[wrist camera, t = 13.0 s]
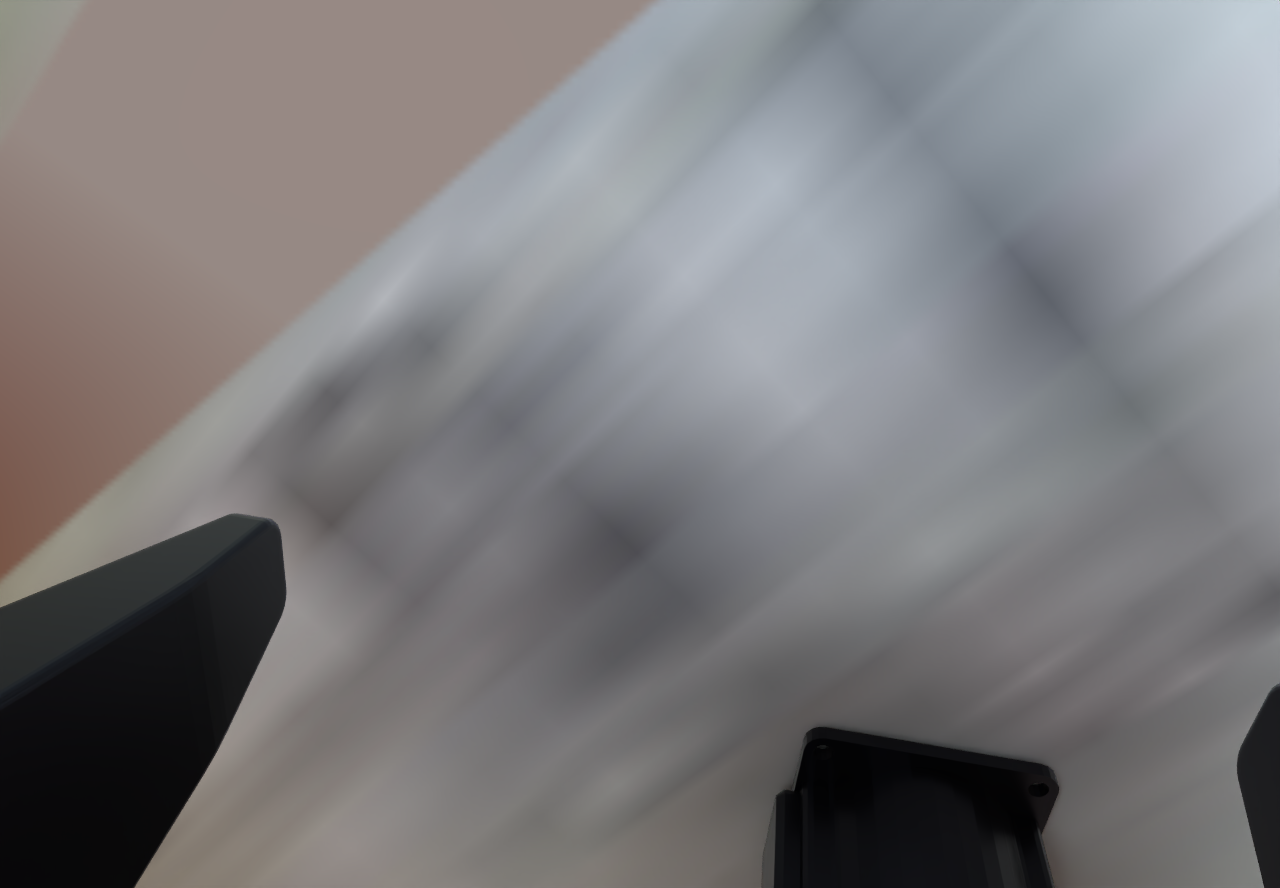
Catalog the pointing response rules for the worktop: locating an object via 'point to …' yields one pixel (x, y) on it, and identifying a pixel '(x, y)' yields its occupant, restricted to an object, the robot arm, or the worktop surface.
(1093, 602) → the worktop surface
